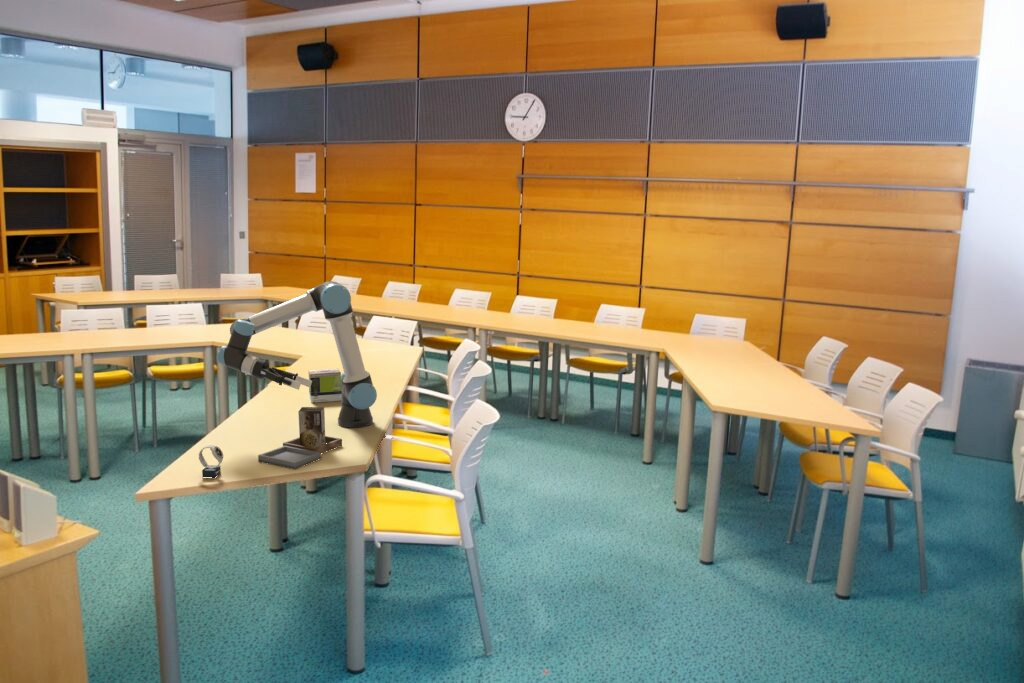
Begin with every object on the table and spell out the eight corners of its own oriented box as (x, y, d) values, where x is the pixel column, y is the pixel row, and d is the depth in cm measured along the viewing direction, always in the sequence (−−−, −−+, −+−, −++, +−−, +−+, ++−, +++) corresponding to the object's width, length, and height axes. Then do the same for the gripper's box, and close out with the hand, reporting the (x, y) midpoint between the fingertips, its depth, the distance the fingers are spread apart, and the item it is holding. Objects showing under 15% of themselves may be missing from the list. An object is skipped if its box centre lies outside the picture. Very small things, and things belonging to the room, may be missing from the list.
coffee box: (326, 446, 316) (325, 406, 313) (322, 450, 309) (321, 410, 307) (303, 445, 315) (301, 406, 313) (299, 450, 309) (298, 410, 306)
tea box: (339, 396, 398) (339, 368, 396) (342, 401, 389) (341, 372, 387) (309, 398, 394) (308, 369, 391) (310, 403, 384) (309, 373, 382)
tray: (285, 451, 307) (284, 445, 307) (321, 459, 299) (321, 452, 299) (258, 461, 295) (258, 455, 294) (295, 469, 287) (295, 462, 286)
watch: (220, 479, 275) (219, 448, 274) (197, 478, 275) (195, 448, 274) (226, 473, 281) (224, 443, 279) (203, 473, 281) (202, 443, 279)
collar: (310, 440, 323) (310, 433, 322) (341, 446, 316) (341, 438, 315) (283, 450, 309) (282, 443, 308) (314, 456, 302) (314, 449, 301)
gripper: (264, 374, 326) (312, 391, 324) (239, 377, 301) (291, 396, 299) (270, 357, 325) (318, 374, 324) (246, 359, 300) (297, 377, 299)
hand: (305, 385), depth 312 cm, fingers open, 13 cm apart
